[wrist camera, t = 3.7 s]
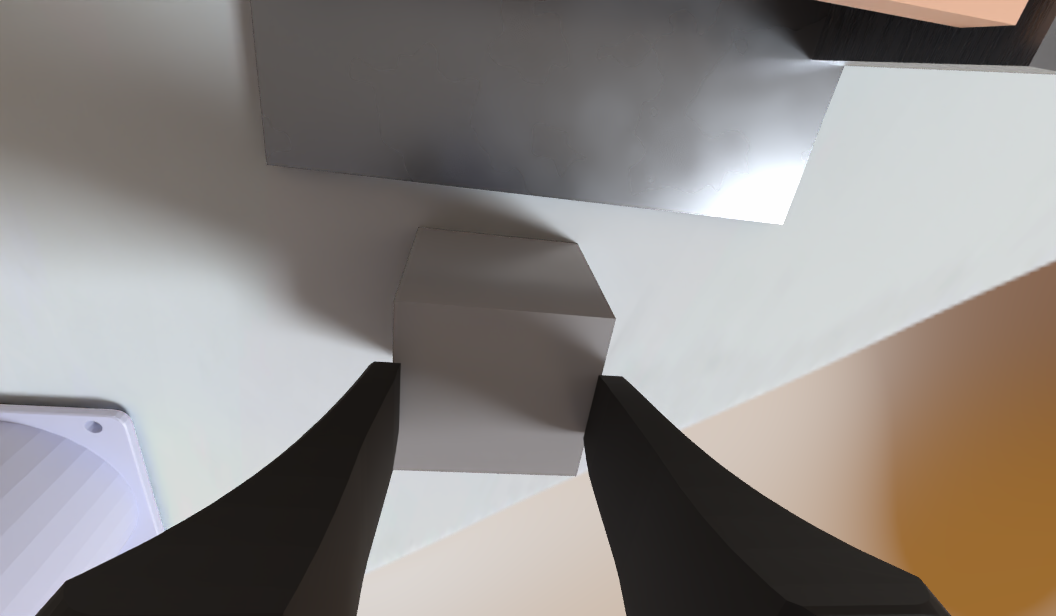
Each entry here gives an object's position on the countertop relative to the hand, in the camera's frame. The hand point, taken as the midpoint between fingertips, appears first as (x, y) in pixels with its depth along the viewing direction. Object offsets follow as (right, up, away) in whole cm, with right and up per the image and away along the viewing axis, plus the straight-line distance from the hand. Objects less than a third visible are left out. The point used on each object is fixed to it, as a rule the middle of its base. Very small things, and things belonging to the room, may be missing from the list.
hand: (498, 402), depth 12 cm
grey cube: (0, +2, +4) cm, 5 cm away
